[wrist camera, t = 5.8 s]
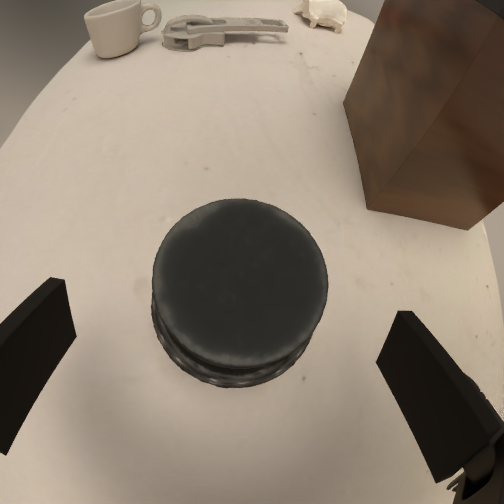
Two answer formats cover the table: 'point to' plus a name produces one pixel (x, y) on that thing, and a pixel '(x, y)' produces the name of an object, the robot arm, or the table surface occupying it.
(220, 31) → the zipper pull
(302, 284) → the pill bottle
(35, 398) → the robot arm
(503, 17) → the scale
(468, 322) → the table surface
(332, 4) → the white turtle figurine
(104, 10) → the cup
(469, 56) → the stand
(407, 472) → the table surface
